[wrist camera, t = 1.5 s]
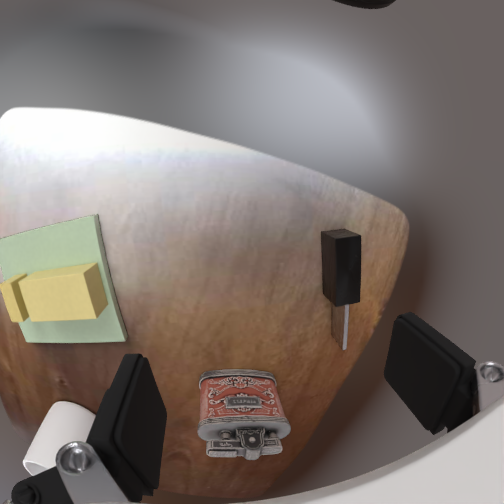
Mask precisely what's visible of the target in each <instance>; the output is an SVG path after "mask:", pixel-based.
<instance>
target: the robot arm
mask: <svg viewBox="0 0 504 504" xmlns="http://www.w3.org/2000/svg"><path fill="white" fill-rule="evenodd" d="M475 363H476V361H475V360H474V359H473V358H472V357H470V356H469V355H468V354H467V353H465V352H464V351H463V350H461V349H460V348H459V347H458V346H456V345H455V344H454V343H452V342H451V341H450V340H449V339H447V338H446V337H445V336H443V335H442V334H441V333H439V332H438V331H437V330H435V329H434V328H432V327H431V326H430V325H429V324H427V323H426V322H425V321H423V320H422V319H421V318H419V317H418V316H416V315H415V314H414V313H412V312H409V313H405V314H401V315H399V316H398V317H397V319H396V320H395V321H394V325H393V331H392V336H391V341H390V347H389V352H388V356H387V361H386V365H385V370H384V377H385V379H386V381H387V382H388V383H389V384H390V385H391V387H392V388H393V389H394V390H395V392H396V393H397V394H398V395H399V397H400V398H401V399H402V400H403V401H404V403H405V404H406V405H407V407H408V408H409V409H410V410H411V412H412V413H413V414H414V415H415V417H416V418H417V419H418V420H419V422H420V423H421V424H422V425H423V427H424V428H425V429H426V430H430V432H431V433H432V434H433V435H434V434H436V433H438V432H440V431H442V430H443V429H444V427H445V426H446V427H447V429H448V431H447V434H446V435H444V436H442V437H441V438H439V439H437V440H436V441H434V442H432V443H430V444H429V445H427V446H425V447H423V448H421V449H419V450H417V451H416V452H413V453H411V454H410V455H407V456H405V457H403V458H401V459H399V460H397V461H395V462H392V463H390V464H388V465H385V466H383V467H381V468H378V469H376V470H374V471H371V472H368V473H366V474H363V475H360V476H358V477H355V478H352V479H349V480H346V481H343V482H340V483H337V484H333V485H330V486H326V487H323V488H319V489H315V490H311V491H307V492H303V493H298V494H294V495H289V496H284V497H278V498H273V499H266V500H260V501H251V502H242V503H232V504H504V367H503V366H502V365H500V364H499V363H496V362H492V361H485V362H483V363H481V364H479V365H478V367H477V369H476V370H475V369H474V365H475ZM166 420H167V412H166V408H165V406H164V403H163V400H162V398H161V395H160V393H159V390H158V387H157V385H156V382H155V379H154V376H153V373H152V370H151V367H150V364H149V361H148V359H147V358H146V357H144V358H143V356H142V355H141V354H125V355H124V357H123V360H122V362H121V364H120V366H119V369H118V371H117V373H116V375H115V378H114V380H113V382H112V385H111V387H110V388H109V389H107V391H106V392H105V395H104V397H103V399H102V402H101V404H100V407H99V409H98V412H97V414H96V417H95V419H94V422H93V424H92V427H91V429H90V432H89V434H88V437H87V440H86V443H85V442H82V441H73V442H69V443H67V444H65V445H63V446H62V447H61V448H60V449H59V450H58V452H57V454H56V459H55V461H56V466H54V467H52V468H50V469H48V470H46V471H43V472H41V473H39V474H37V475H34V476H32V477H29V478H27V479H24V480H22V481H20V482H18V483H17V484H16V485H15V486H14V488H13V490H12V501H11V502H10V501H9V500H6V501H5V502H4V503H2V504H143V503H141V502H140V501H141V500H142V495H147V496H153V490H154V489H157V488H158V486H159V476H160V467H161V458H162V450H163V442H164V434H165V427H166ZM144 504H145V503H144Z"/></svg>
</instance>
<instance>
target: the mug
mask: <svg viewBox="0 0 504 504" xmlns="http://www.w3.org/2000/svg"><path fill="white" fill-rule="evenodd" d="M95 417H96V415H95V414H94V413H92V412H91V411H89V410H88V409H86V408H84V407H82V406H80V405H77V404H75V403H71V402H66V401H61V402H56V403H54V404H53V406H52V407H51V408H50V410H49V412H48V413H47V415H46V417H45V419H44V421H43V423H42V424H41V426H40V428H39V430H38V432H37V434H36V436H35V438H34V440H33V442H32V444H31V446H30V448H29V450H28V452H27V454H26V456H25V458H24V460H23V465H24V466H25V468H26V469H27V471H28V472H29V473H30V474H31V475H32V476H34V475H37V474H39V473H41V472H43V471H46V470H48V469H50V468H52V467H54V466H56V461H55V459H56V454H57V452H58V450H59V449H60V448H61V447H62V446H63V445H65V444H67V443H69V442H73V441H82V442H85V443H86V440H87V437H88V434H89V432H90V429H91V427H92V424H93V422H94V419H95Z"/></svg>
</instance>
